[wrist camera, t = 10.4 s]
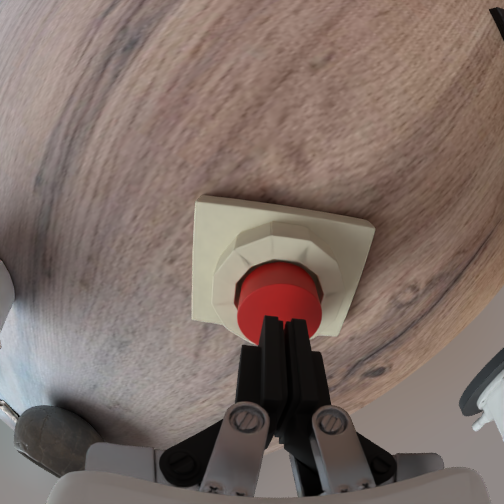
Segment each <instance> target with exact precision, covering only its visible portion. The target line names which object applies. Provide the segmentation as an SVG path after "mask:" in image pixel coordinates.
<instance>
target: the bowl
mask: <svg viewBox="0 0 504 504" xmlns="http://www.w3.org/2000/svg"><path fill="white" fill-rule="evenodd" d="M97 442H105V441H104V440H103V439H102V437H101V436H100V435H99V434H98V433H97V432H96V431H95V430H94V428H93V427H92V426H91V425H89V424H88V423H87V422H86V421H85V420H84V419H82V418H81V417H79V416H78V415H76V414H74V413H72V412H70V411H68V410H65V409H62V408H59V407H55V406H48V405H41V406H35V407H31V408H29V409H27V410H26V411H24V412H23V413H22V415H21V416H20V417H19V419H18V420H17V423H16V426H15V432H14V446H15V449H16V450H17V451H18V452H19V453H21V454H22V455H23V456H24V457H26V458H27V459H29V460H30V461H32V462H33V463H35V464H36V465H38V466H39V467H41V468H43V469H44V470H46V471H48V472H49V473H51V474H53V475H55V476H56V477H58V478H61V477H62V476H64V475H65V474H67V473H70V472H74V471H85V462H86V453H87V450H88V448H89V447H90V446H91V445H92V444H95V443H97Z"/></svg>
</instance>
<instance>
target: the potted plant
mask: <svg viewBox="0 0 504 504" xmlns="http://www.w3.org/2000/svg"><path fill="white" fill-rule="evenodd" d="M14 300H15V295H14V286H13V283H12V280H11V277H10V274H9V272H8V270H7V269H6V267H5V265H4V263H3V262H2V261H1V260H0V333H1V330H2V328H3V325H4V323H5V320H6V318H7V316H8V313H9V311H10V309H11V307H12V304H13V302H14ZM1 348H2V347H1V342H0V349H1Z"/></svg>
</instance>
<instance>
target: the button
mask: <svg viewBox="0 0 504 504" xmlns="http://www.w3.org/2000/svg"><path fill="white" fill-rule="evenodd" d="M264 315H268V316H277V317H278V319H279V320H281V321H283V326H284V327H285V324H286V321H291V319H292V318H296V319H305V320H306V323H307V328H308V334H309V339H310V338H311V337H312V336H313V335H314V334H315V333H316V331H317V330H318V328H319V326H320V324H321V320H322V309H321V305H320V301H319V297H318V294H317V290H316V286H315V283H314V281H313V279H312V277H311V276H310V275H309V274H308V273H307V272H306V271H305V270H304V269H302V268H301V267H299V266H296V265H294V264H291V263H286V262H274V263H268V264H265V265H262V266H260V267H258V268H256V269H255V270H254V271H252V272H251V273H250V274H249V275H248V276H247V277H246V279H245V280H244V282H243V284H242V287H241V292H240V298H239V305H238V311H237V323H238V326H239V328H240V330H241V332H242V333H243V335H244V336H245V337H246V338H247V339H248V340H250V341H251V342H253V343H254V344H256V345H258V344H259V339H260V334H261V329H262V324H263V319H264Z"/></svg>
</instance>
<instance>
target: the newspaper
mask: <svg viewBox="0 0 504 504" xmlns="http://www.w3.org/2000/svg"><path fill="white" fill-rule="evenodd" d="M0 408H1V409H2V410H3V411H4V412H5V413H6V414H7V415H8V416H9V417H10V418H11V419H12V420H13V421H14V422H15V423H17V420H18V419H19V417H18V416H17V415H16V414H15V413H14V412H13V411H12V410H11V408H10V407H9V406H8V405H7V404H6V403H5V402H4V400H3V401H0Z"/></svg>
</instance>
